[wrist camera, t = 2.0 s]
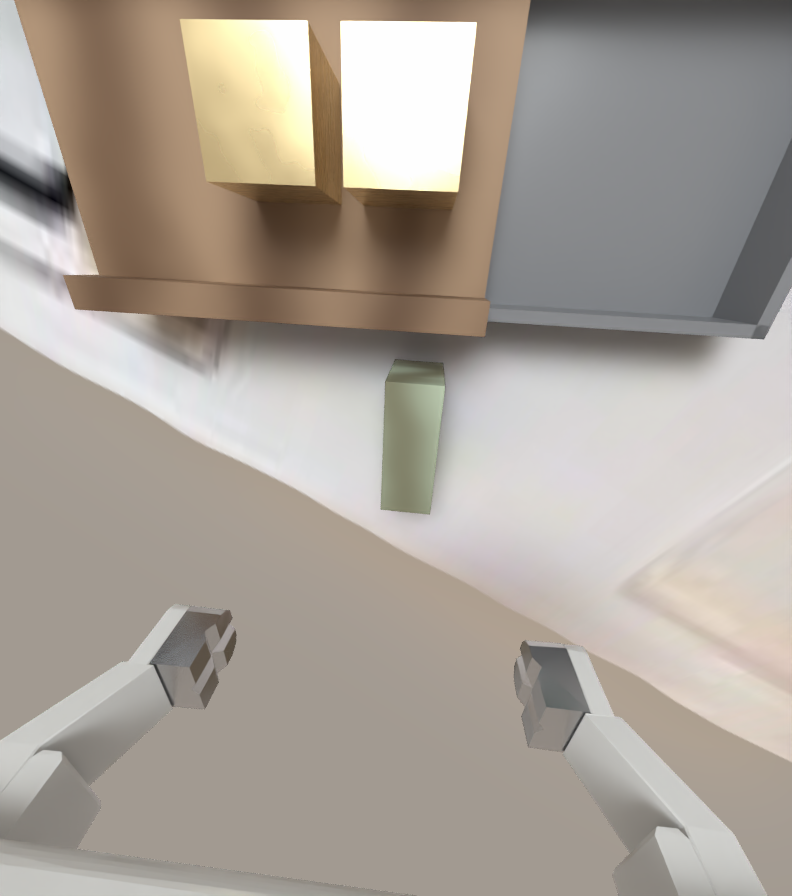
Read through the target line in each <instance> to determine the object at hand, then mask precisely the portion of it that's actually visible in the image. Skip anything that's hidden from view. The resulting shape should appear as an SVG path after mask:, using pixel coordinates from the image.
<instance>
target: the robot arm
mask: <svg viewBox="0 0 792 896" xmlns="http://www.w3.org/2000/svg"><path fill="white" fill-rule="evenodd" d="M231 620H232V615H231V612H230V610H222V609H214V608H205V607H196V606H190V605H189V606H188V605H179V604H175V605H173V606H172V607H171V608H169V609H168V610H167V612H166V613H165V614H164V615H163V617H162V618H161V619H160V621H159V622H158V624H157V625H156V626H155V627H154V628H153V630H152V631H151V632H150V634H149V635H148V636H147V637H146V639H145V640H144V641H143V643H142V644H141V645H140V647H139V648H138V649H137V650H136V652H135V653H134V654H133V656H132V657H131V658H130V660H129V661H128V662H123V661H122V662H121V663H119V664H118V665H116V666H114V667H113V668H111V669H110V670H109V671H107V672H105V673H104V674H102V675H101V676H99V677H97V678H96V679H94V680H93V681H92V682H90V683H88V684H87V685H85V686H84V687H82V688H80V689H79V690H77V691H76V692H74V693H73V694H71V695H70V696H68V697H67V698H65V699H64V700H62V701H60V702H59V703H57V704H56V705H54V706H53V707H51V708H50V709H48V710H47V711H45V712H43V713H42V714H40V715H39V716H37V717H36V718H34V719H33V720H31V721H30V722H28V723H26V724H25V725H23V726H22V727H20V728H19V729H17V730H16V731H14V732H13V733H11V734H9V735H8V736H7V737H5V738H3V739H2V740H0V896H416V895H408V894H401V893H394V892H387V891H379V890H372V889H365V888H358V887H350V886H343V885H336V884H328V883H321V882H313V881H307V880H299V879H292V878H284V877H277V876H270V875H263V874H256V873H248V872H241V871H234V870H227V869H219V868H212V867H205V866H197V865H190V864H182V863H176V862H168V861H161V860H154V859H146V858H139V857H131V856H124V855H117V854H110V853H102V852H96V851H88V850H81V849H77V847H78V846H79V844H80V843H81V841H82V839H83V837H84V836H85V834H86V832H87V831H88V829H89V827H90V826H91V824H92V822H93V821H94V819H95V817H96V815H97V814H98V812H99V811H100V809H101V801H100V799H99V798H98V797H97V795H96V794H95V793H94V792H93V791H92V789H91V788H90V787H89V786H90V785H91V784H92V783H93V782H94V781H95V780H96V779H97V778H98V777H100V776H101V775H102V774H103V773H104V772H105V771H106V770H107V769H108V768H109V767H111V765H113V764H114V763H115V762H116V761H117V760H118V759H119V758H120V757H121V756H122V755H123V754H125V753H126V752H127V751H128V750H129V749H130V748H131V747H132V746H133V745H134V744H135V743H136V742H138V741H139V740H140V739H141V738H142V737H143V736H144V735H145V734H146V733H147V732H148V731H149V730H150V729H152V728H153V727H154V726H155V725H156V724H157V723H158V722H159V721H160V720H161V719H162V718H163V717H165V716H166V715H167V714H168V713H169V712H170V711H171V710H172V709H173V708H172V707H182V708H194V709H205V708H206V706H207V704H208V702H209V700H210V698H211V696H212V694H213V693H214V690H215V688H216V687H217V684H218V683H219V681H218V672H219V671H220V670H222V669H223V668H224V667H226V666H227V665H228V662H229V661H230V659H231V657H232V654H233V651H234V648H235V644H236V631H235V628H234V627H232V626H231V625H230V622H231ZM520 650H521V654H522V655H521V656H520V657H518V658H517V659H516V662H515V666H514V682H515V689H516V694H517V697H518V699H519V700H520V701H521V703H522V704H523V705H524V706H525V709H524V711H523V714H522V716H521V717H522V721H523V726H524V730H525V735H526V739H527V744H528V747H530V748H537V749H544V750H550V751H557V752H564V753H563V755H564V757H565V759H566V760H567V761H568V763H569V764H570V766H571V767H572V769H573V770H574V772H575V773H576V775H577V776H578V778H579V779H580V781H581V782H582V783H583V785H584V786H585V788H586V789H587V791H588V792H589V794H590V795H591V797H592V798H593V800H594V801H595V803H596V804H597V806H598V807H599V809H600V810H601V812H602V813H603V815H604V816H605V817H606V819H607V820H608V822H609V823H610V825H611V826H612V828H613V829H614V831H615V832H616V834H617V835H618V837H619V838H620V840H621V841H622V842H623V844H624V845H625V847H626V848H627V850H628V851H629V853H630V854H629V855H628V856H627V857H626V858H625V859H624V860H623V861H622V862H621V863H620V864H619V865H618V866H617V867H616V868H615V870H614V873H613V875H612V876H613V879H614V883H615V886H616V889H617V893H618V896H768V895H767V894H766V892H765V890H764V888H763V886H762V885H761V883H760V881H759V879H758V877H757V875H756V873H755V872H754V870H753V868H752V866H751V864H750V863H749V861H748V859H747V857H746V855H745V853H744V852H743V850H742V848H741V846H740V844H739V843H738V841H737V839H736V837H735V835H734V834H733V833H732V832H731V831H730V830H729V829H728V827H727V826H726V825H725V824H724V823H722V821H721V820H720V819H719V818H718V817H717V816H716V815H715V814H714V813H713V812H712V811H711V810H710V809H709V808H708V807H707V806H706V805H705V804H704V803H703V802H702V801H701V799H700V798H699V797H698V796H697V795H696V794H695V793H694V792H693V791H692V790H691V789H690V788H689V787H688V786H687V785H686V784H685V783H684V782H683V781H682V780H681V779H680V778H679V777H678V776H677V775H676V774H675V773H674V772H673V771H672V769H671V768H670V767H669V766H668V765H667V764H666V763H665V762H664V761H663V760H662V759H661V758H660V757H659V756H658V755H657V754H656V753H655V752H654V751H653V750H652V749H651V748H650V747H649V746H648V745H647V744H646V743H645V742H644V740H643V739H641V737H639V735H638V734H637V733H636V732H635V731H634V730H633V729H632V728H631V727H630V726H629V725H628V724H627V723H626V722H625V721H624V720H623V719H622V718H621V717H616V716H614V713H613V711H612V709H611V706H610V704H609V702H608V700H607V697H606V695H605V693H604V691H603V688H602V686H601V683H600V681H599V679H598V677H597V674H596V672H595V670H594V667H593V665H592V663H591V660H590V658H589V656H588V654H587V651H586V650H585V649H584V648H583V647H582V646H578V645H566V644H561V643H551V642H539V641H527V640H525V641H523V642H522V645H521V647H520Z"/></svg>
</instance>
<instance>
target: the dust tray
mask: <svg viewBox="0 0 792 896" xmlns="http://www.w3.org/2000/svg"><path fill="white" fill-rule="evenodd" d="M791 287H792V0H531V1H530V8H529V14H528V21H527V27H526V34H525V40H524V46H523V53H522V59H521V66H520V72H519V79H518V85H517V92H516V98H515V105H514V111H513V118H512V124H511V130H510V137H509V143H508V150H507V156H506V163H505V169H504V176H503V182H502V189H501V195H500V202H499V208H498V214H497V221H496V227H495V234H494V240H493V247H492V253H491V260H490V266H489V273H488V279H487V286H486V292H485V299H487V300H489V301H491V302H490V308H489V314H488V320H487V321H489V322H504V323H520V324H535V325H551V326H566V327H581V328H597V329H612V330H628V331H643V332H659V333H674V334H690V335H705V336H721V337H736V338H751V339H764V338H765V336H766V335H767V333H768V331H769V329H770V327H771V325H772V323H773V321H774V319H775V317H776V315H777V314H778V312H779V310H780V308H781V306H782V304H783V302H784V300H785V298H786V296H787V295H788V293H789V291H790V289H791Z"/></svg>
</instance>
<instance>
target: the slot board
mask: <svg viewBox="0 0 792 896" xmlns="http://www.w3.org/2000/svg"><path fill="white" fill-rule="evenodd" d="M14 1H15V4H16V8H17V11H18V14H19V17H20V20H21V24H22V27H23V30H24V33H25V37H26V40H27V43H28V46H29V50H30V53H31V56H32V59H33V62H34V66H35V69H36V72H37V75H38V79H39V82H40V85H41V88H42V91H43V95H44V98H45V101H46V104H47V108H48V111H49V114H50V117H51V121H52V124H53V127H54V130H55V133H56V137H57V140H58V143H59V146H60V150H61V153H62V156H63V159H64V162H65V166H66V169H67V172H68V175H69V179H70V182H71V185H72V188H73V191H74V195H75V198H76V201H77V204H78V208H79V211H80V214H81V217H82V221H83V224H84V227H85V230H86V233H87V237H88V240H89V243H90V246H91V250H92V253H93V256H94V259H95V262H96V266H97V269H98V272H99V275H63V276H64V279H65V282H66V285H67V288H68V290H69V293H70V296H71V299H72V302H73V305H74V307H75V309H79V310H94V311H108V312H123V313H138V314H153V315H168V316H183V317H197V318H212V319H227V320H242V321H257V322H272V323H286V324H301V325H316V326H331V327H346V328H360V329H375V330H390V331H405V332H420V333H435V334H449V335H464V336H479V337H485V333H486V327H487V320H488V314H489V308H490V302H491V301H489V300H487V299H485V292H486V286H487V279H488V273H489V266H490V260H491V253H492V247H493V240H494V234H495V227H496V221H497V214H498V208H499V202H500V195H501V189H502V182H503V176H504V169H505V163H506V156H507V150H508V143H509V137H510V130H511V124H512V118H513V111H514V105H515V98H516V92H517V85H518V79H519V72H520V66H521V59H522V53H523V46H524V40H525V34H526V27H527V21H528V14H529V8H530V1H531V0H14ZM180 19H221V20H304V21H308V22H309V24H310V26H311V28H312V30H313V32H314V34H315V36H316V38H317V40H318V42H319V44H320V46H321V48H322V50H323V52H324V54H325V56H326V58H327V60H328V62H329V64H330V66H331V68H332V70H333V72H334V74H335V76H336V78H337V80H338V82H339V84H340V127H341V181H342V205H329V204H307V203H285V202H262V201H255V200H252V199H250V198H247V197H245V196H242V195H239V194H237V193H234V192H232V191H229V190H227V189H224V188H222V187H219V186H216V185H214V184H211V183H209V182H206V177H205V171H204V165H203V159H202V153H201V146H200V140H199V134H198V128H197V122H196V116H195V110H194V104H193V98H192V91H191V85H190V79H189V73H188V67H187V61H186V55H185V49H184V43H183V37H182V30H181V24H180ZM341 21H386V22H469V23H476V32H475V42H474V51H473V60H472V69H471V79H470V88H469V97H468V106H467V116H466V125H465V134H464V143H463V152H462V162H461V171H460V180H459V189H458V194H457V197H456V201H455V204H454V207H453V210H439V209H417V208H395V207H373V206H363V205H362V204H361V203H360V202H359V201H358V200H357V199H355V198H354V197H353V196H352V195H351V194H350V193H349V192H348V191H347V190H346V189H345V188H344V187H343V134H342V73H341Z"/></svg>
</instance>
